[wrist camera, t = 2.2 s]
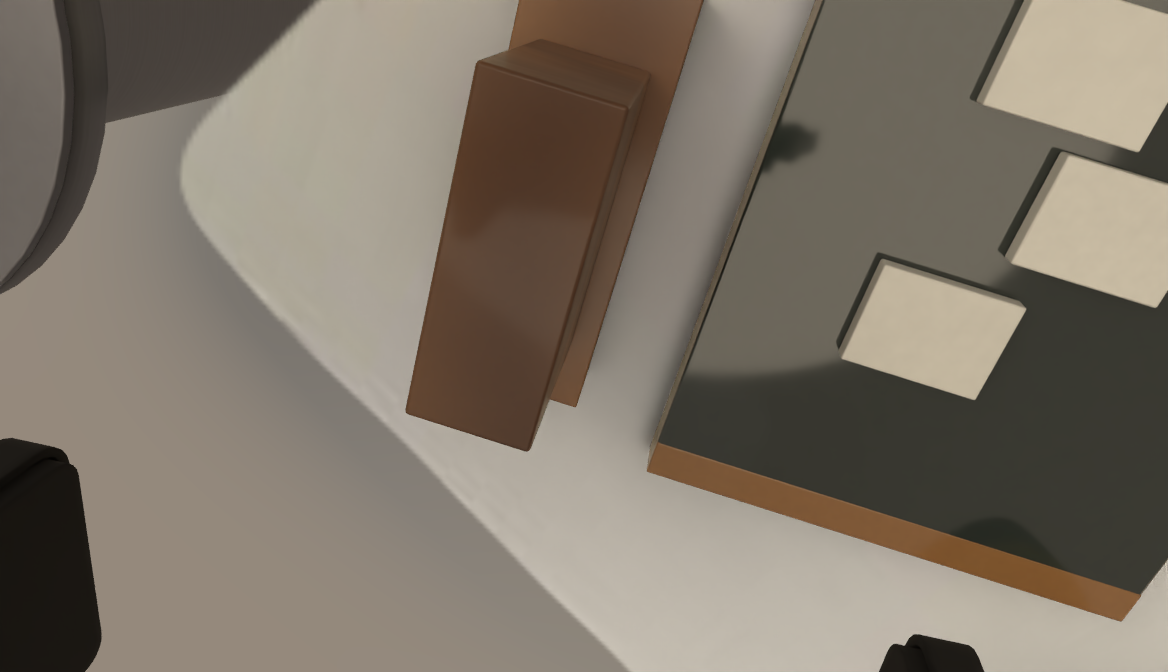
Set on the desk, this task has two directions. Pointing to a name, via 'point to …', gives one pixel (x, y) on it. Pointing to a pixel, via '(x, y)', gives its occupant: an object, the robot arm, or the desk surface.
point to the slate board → (950, 250)
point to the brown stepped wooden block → (544, 209)
